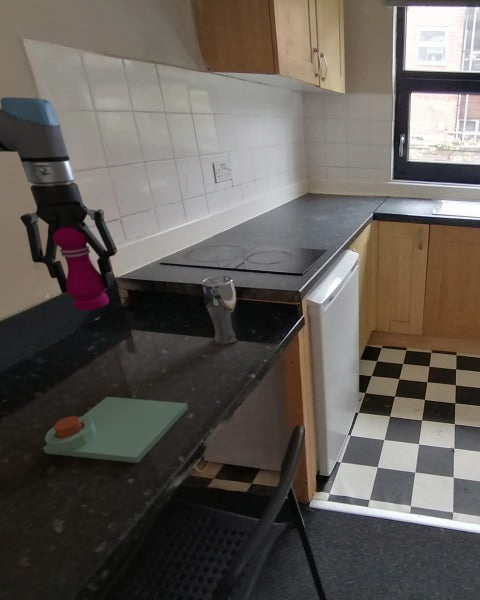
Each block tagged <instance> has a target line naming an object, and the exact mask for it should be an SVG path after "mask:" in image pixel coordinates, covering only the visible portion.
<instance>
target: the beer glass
mask: <svg viewBox="0 0 480 600" xmlns="http://www.w3.org/2000/svg"><path fill="white" fill-rule="evenodd" d="M233 279H234V278H233V277H231V276H229V275H215V276H211V277H207V278H205V279H203V280H202V281H201V290H202V296H203V302H204V305H205V309H206V311H207V315H208V316H209V318H210V321H211V323H212V326H213V330H214V336H213V337H214V338H213V339H214V342H215V343H216V344H218V345H231V344H234V343H236V342H238V341H240V339H241V338H242V335H243V334H242V332H241V330H240V328H239V323H238V295H237V291H236V288H235V287H236V286H235V284H234V280H233Z"/></svg>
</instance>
